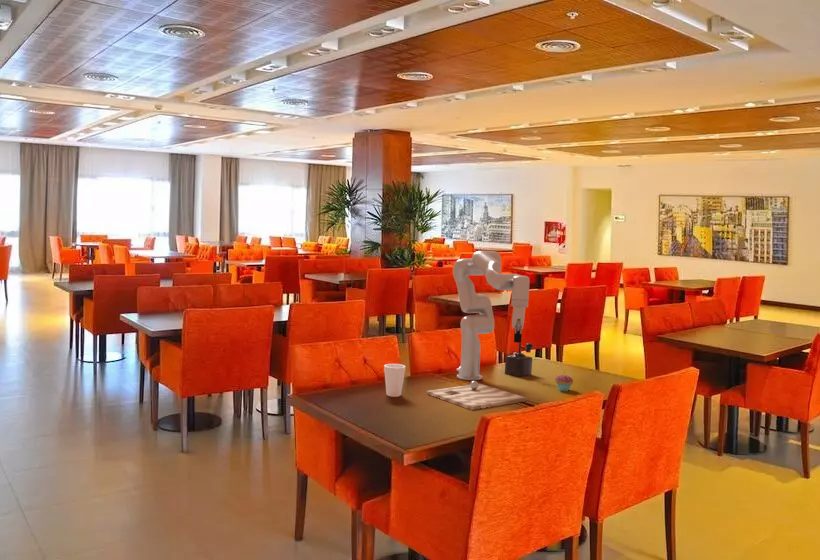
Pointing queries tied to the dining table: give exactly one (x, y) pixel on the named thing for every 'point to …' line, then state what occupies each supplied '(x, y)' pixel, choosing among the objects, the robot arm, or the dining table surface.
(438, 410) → the dining table surface
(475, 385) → the steel ball
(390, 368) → the foam cup
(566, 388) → the cupcake
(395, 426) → the dining table surface
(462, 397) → the maple board
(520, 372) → the coffee grinder
